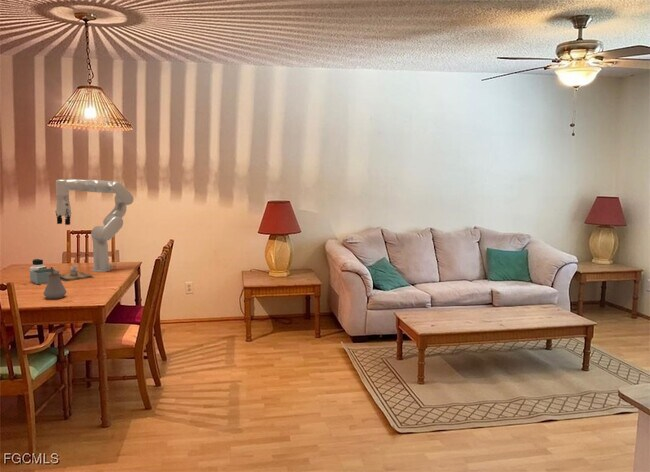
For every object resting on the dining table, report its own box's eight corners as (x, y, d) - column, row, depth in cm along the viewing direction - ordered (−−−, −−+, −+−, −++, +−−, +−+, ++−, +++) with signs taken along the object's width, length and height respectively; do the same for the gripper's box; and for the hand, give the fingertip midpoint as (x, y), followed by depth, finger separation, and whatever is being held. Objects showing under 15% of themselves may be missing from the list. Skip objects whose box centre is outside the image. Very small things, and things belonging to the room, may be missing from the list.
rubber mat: (83, 273, 362) (83, 273, 362) (95, 277, 349) (95, 277, 349) (53, 277, 349) (53, 277, 348) (64, 282, 335) (64, 281, 335)
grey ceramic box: (52, 278, 345) (51, 268, 344) (59, 281, 336) (59, 271, 335) (30, 281, 336) (29, 270, 335) (37, 284, 327) (36, 273, 326)
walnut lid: (81, 273, 360) (81, 263, 359) (91, 277, 349) (91, 266, 348) (57, 277, 349) (56, 266, 348) (66, 280, 338) (65, 269, 337)
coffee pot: (67, 298, 295) (66, 271, 293) (44, 300, 289) (43, 273, 287) (63, 290, 313) (62, 265, 311) (41, 292, 307) (40, 267, 305)
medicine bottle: (39, 278, 346) (38, 260, 344) (30, 277, 347) (28, 259, 345) (47, 276, 353) (46, 258, 351) (37, 275, 354) (36, 258, 352)
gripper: (75, 198, 347) (76, 224, 349) (61, 197, 357) (62, 223, 359) (64, 199, 341) (65, 225, 343) (50, 198, 351) (51, 223, 353)
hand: (63, 224), depth 351 cm, fingers open, 9 cm apart
